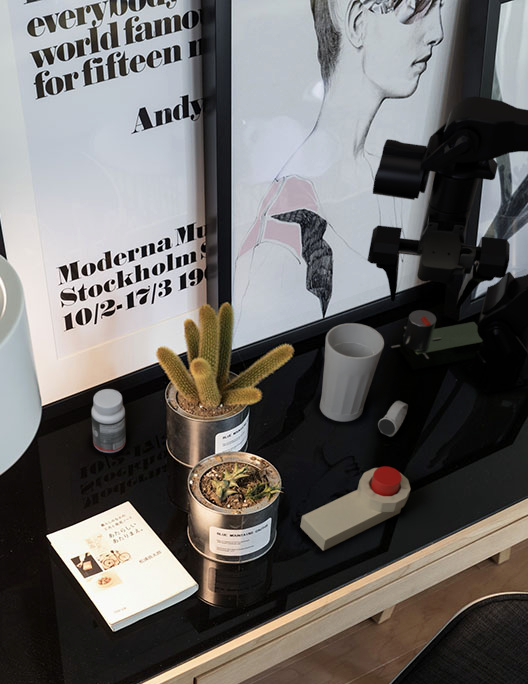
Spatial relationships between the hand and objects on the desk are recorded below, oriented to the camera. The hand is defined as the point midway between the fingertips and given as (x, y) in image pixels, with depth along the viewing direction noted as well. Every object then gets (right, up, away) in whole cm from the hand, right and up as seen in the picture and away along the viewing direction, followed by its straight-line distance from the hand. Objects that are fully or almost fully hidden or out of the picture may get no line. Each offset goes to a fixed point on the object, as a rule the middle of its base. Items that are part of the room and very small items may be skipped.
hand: (424, 303), depth 139 cm
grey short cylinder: (-5, -19, -1) cm, 20 cm away
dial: (+1, -4, +6) cm, 7 cm away
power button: (-10, -29, -13) cm, 33 cm away
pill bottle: (-46, -21, -2) cm, 51 cm away
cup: (-12, -15, +2) cm, 19 cm away
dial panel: (+4, -5, +9) cm, 11 cm away
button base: (-14, -33, -12) cm, 38 cm away
